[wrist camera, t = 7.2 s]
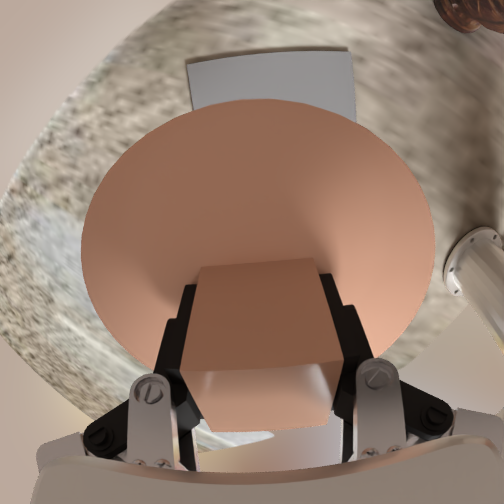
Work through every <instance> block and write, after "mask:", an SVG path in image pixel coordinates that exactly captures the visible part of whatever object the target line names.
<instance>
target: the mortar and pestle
mask: <svg viewBox="0 0 504 504" xmlns="http://www.w3.org/2000/svg"><path fill="white" fill-rule="evenodd" d="M434 3H435V6H436V9H437V10H438V12H439V14H440V16H441V17H442V18H443V20H444V21H445V22H447V23H448V24H449V25H450V26H451V27H453V28H454V29H456V30H457V31H459V32H462V33H472V32H474V31H476V30H477V29H479V28H480V27H481V25H483V26H484V27H485V28H487V29H490V30H493V31H496V32H499V33H503V34H504V0H434Z"/></svg>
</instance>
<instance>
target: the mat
mask: <svg viewBox="0 0 504 504" xmlns="http://www.w3.org/2000/svg"><path fill="white" fill-rule="evenodd" d="M187 70H188V77H189V83H190V90H191V96H192V102H193V108H194V110H197V109H200V108H202V107H205V106H208V105H211V104H217V103H222V102H227V101H233V100H239V99H266V98H272V99H280V100H287V101H294V102H301V103H305V104H309V105H312V106H315V107H318V108H322V109H325V110H328V111H331V112H334V113H337V114H339V115H341V116H343V117H345V118H347V119H349V120H351V121H353V122H355V123H356V104H355V89H354V77H353V66H352V57H351V52H342V51H292V52H274V53H262V54H252V55H243V56H235V57H228V58H221V59H215V60H209V61H203V62H198V63H193V64H188V65H187Z"/></svg>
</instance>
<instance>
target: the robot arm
mask: <svg viewBox="0 0 504 504" xmlns="http://www.w3.org/2000/svg"><path fill="white" fill-rule="evenodd" d="M319 277H320V280H321V283H322V287H323V290H324V293H325V296H326V299H327V303H328V306H329V309H330V313H331V316H332V319H333V323H334V326H335V329H336V333H337V336H338V340H339V343H340V347H341V351H342V354H343V358H344V362H343V366H342V370H341V374H340V378H339V382H338V386H337V390H336V393H335V397H334V401H333V404H332V408H331V410H334V414H335V415H336V416H338V417H340V418H341V437H340V438H341V439H340V459H339V464H335V465H329V466H322V467H316V468H308V469H298V470H289V471H277V472H258V473H257V472H256V473H215V472H200V466H199V459H198V451H197V443H196V434H195V426H197V425H198V424H199V423H200V419H204V417H203V415H202V414H201V412H200V410H199V408H198V406H197V404H196V402H195V400H194V399H193V397H192V395H191V393H190V391H189V389H188V387H187V385H186V383H185V381H184V379H183V377H182V375H181V373H180V366H181V361H182V355H183V350H184V345H185V340H186V335H187V330H188V325H189V321H190V316H191V311H192V306H193V302H194V297H195V293H196V288H197V284H188V285H185V287H184V290H183V294H182V298H181V302H180V305H179V309H178V313H177V317H176V318H169V319H168V321H167V323H166V327H165V330H164V334H163V337H162V341H161V345H160V348H159V352H158V356H157V360H156V364H155V368H154V372H153V374H152V373H150V374H146V375H143V376H141V377H139V378H138V379H137V380H136V381H134V383H133V384H132V386H131V389H130V394H129V399H128V400H126V401H125V402H123V403H122V404H120V405H119V406H117V407H116V408H114V409H113V410H111V411H110V412H108V413H106V414H105V415H103V416H102V417H100V418H99V419H97V420H95V421H94V422H92V423H91V424H90V425H89V426H87V428H86V430H85V431H84V433H82V434H81V433H80V432H77V433H74V434H71V435H68V436H65V437H63V438H60V439H57V440H53V441H50V442H48V443H44V444H43V445H41V446H40V447H39V449H38V451H37V454H36V459H37V464H38V469H39V473H40V474H39V476H38V479H37V481H36V484H35V487H34V491H33V494H32V498H31V503H30V504H504V407H503V409H501V410H500V411H499V412H498V413H497V414H496V415H491V414H486V413H481V412H475V411H470V410H466V409H461V408H457V409H456V410H453V409H451V407H450V406H449V405H448V404H447V403H446V402H444V401H443V400H440V399H439V398H436V397H434V396H432V395H430V394H428V393H426V392H424V391H422V390H420V389H417V388H415V387H413V386H411V385H409V384H407V383H405V382H403V381H401V380H399V375H398V371H397V369H396V367H395V366H394V365H393V364H392V363H391V362H389V361H387V360H385V359H382V358H374V356H373V353H372V350H371V348H370V345H369V342H368V339H367V337H366V334H365V331H364V329H363V326H362V323H361V321H360V318H359V316H358V313H357V310H356V308H355V306H354V305H353V304H350V305H343V303H342V300H341V298H340V295H339V292H338V289H337V287H336V284H335V281H334V279H333V276H332V274H331V273H325V274H319ZM444 284H445V286H446V288H447V289H448V291H449V292H450V293H451V294H452V295H455V296H464V297H465V298H466V299H467V301H468V302H469V303H470V305H471V306H472V308H473V309H474V310H475V312H476V313H477V315H478V316H479V318H480V319H481V321H482V322H483V324H484V325H485V327H486V328H487V330H488V331H489V333H490V334H491V336H492V337H493V339H494V341H495V342H496V344H497V345H498V347H499V349H500V350H501V352H502V354H503V355H504V251H503V250H502V243H501V239H500V236H499V235H498V233H497V232H496V231H494V230H493V229H492V228H490V227H479V228H477V229H474V230H473V231H471V232H469V233H468V234H467V235H465V236H464V237H463V238H462V239H461V240H460V241H459V242H458V244H457V245H456V246H455V247H454V249H453V251H452V252H451V254H450V256H449V258H448V260H447V262H446V266H445V269H444Z"/></svg>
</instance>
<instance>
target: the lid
mask: <svg viewBox="0 0 504 504" xmlns="http://www.w3.org/2000/svg"><path fill="white" fill-rule="evenodd" d="M434 257H435V235H434V225H433V221H432V217H431V213H430V208H429V205H428V203H427V200H426V198H425V196H424V193H423V191H422V189H421V186H420V185H419V183H418V181H417V180H416V178H415V177H414V175H413V174H412V172H411V171H410V169H409V168H408V166H407V165H406V164H405V163H404V161H403V160H402V159H401V158H400V157H399V156H398V155H397V154H396V153H395V152H394V151H393V149H392V148H391V147H390V146H389V145H387V144H386V143H385V142H383V141H382V140H381V139H380V138H378V137H377V136H376V135H374V134H373V133H372V132H370V131H369V130H368V129H366V128H364V127H363V126H361V125H359V124H357V123H355V122H353V121H351V120H349V119H347V118H345V117H343V116H341V115H339V114H337V113H334V112H331V111H328V110H325V109H322V108H318V107H315V106H312V105H309V104H305V103H301V102H294V101H287V100H280V99H272V98H266V99H239V100H233V101H227V102H222V103H217V104H211V105H208V106H205V107H202V108H200V109H197V110H194V111H191V112H188V113H186V114H183V115H181V116H178V117H176V118H174V119H172V120H170V121H168V122H167V123H165V124H163V125H161V126H160V127H158V128H156V129H154V130H153V131H151V132H149V133H148V134H146V135H145V136H144V137H143V138H141V139H140V140H139V141H138V142H136V143H135V144H134V145H133V146H132V147H130V148H129V149H128V150H127V151H126V152H125V153H124V154H123V155H122V156H121V157H120V158H119V159H118V161H117V162H116V163H115V164H114V165H113V166H112V168H111V169H110V170H109V171H108V172H107V174H106V175H105V177H104V179H103V180H102V182H101V184H100V185H99V187H98V189H97V190H96V192H95V194H94V196H93V199H92V201H91V204H90V206H89V209H88V212H87V214H86V218H85V222H84V227H83V233H82V240H81V262H82V270H83V277H84V281H85V284H86V288H87V291H88V295H89V297H90V299H91V301H92V304H93V306H94V308H95V310H96V312H97V314H98V316H99V317H100V319H101V321H102V322H103V324H104V325H105V327H106V328H107V329H108V331H109V332H110V333H111V334H112V336H113V337H114V338H115V339H116V340H117V341H118V342H119V343H120V344H121V345H122V346H123V347H124V348H125V349H126V350H127V351H128V352H129V353H130V354H131V355H132V356H134V357H135V358H136V359H137V360H139V361H140V362H141V363H143V364H144V365H146V366H147V367H149V368H150V369H152V370H153V371H154V368H155V364H156V360H157V356H158V352H159V348H160V345H161V341H162V337H163V334H164V330H165V327H166V323H167V321H168V319H169V318H176V317H177V313H178V309H179V305H180V302H181V298H182V294H183V290H184V287H185V285H188V284H197V288H196V293H195V297H194V302H193V306H192V311H191V316H190V321H189V325H188V330H187V335H186V340H185V345H184V350H183V355H182V361H181V366H180V373H181V375H182V377H183V379H184V381H185V383H186V385H187V387H188V389H189V391H190V393H191V395H192V397H193V399H194V400H195V402H196V404H197V406H198V408H199V410H200V412H201V414H202V415H203V417H204V419H205V421H206V423H207V424H208V426H209V428H210V430H211V431H212V432H252V431H270V430H283V429H294V428H304V427H312V426H319V425H326V424H327V421H328V418H329V415H330V411H331V408H332V404H333V401H334V397H335V393H336V390H337V386H338V382H339V378H340V374H341V370H342V366H343V362H344V358H343V354H342V351H341V347H340V343H339V340H338V336H337V333H336V329H335V326H334V323H333V319H332V316H331V313H330V309H329V306H328V303H327V299H326V296H325V293H324V290H323V287H322V283H321V280H320V277H319V274H325V273H331V274H332V276H333V279H334V281H335V284H336V287H337V289H338V292H339V295H340V298H341V300H342V303H343V305H350V304H353V305H354V306H355V308H356V310H357V313H358V316H359V318H360V321H361V323H362V326H363V329H364V331H365V334H366V337H367V339H368V342H369V345H370V348H371V350H372V353H373V356H374V358H377V357H378V356H380V355H381V354H382V353H383V352H384V351H385V350H386V349H388V348H389V347H390V346H391V345H392V344H393V343H394V342H395V341H396V340H397V339H398V337H399V336H400V335H401V334H402V333H403V332H404V331H405V329H406V328H407V326H408V325H409V324H410V322H411V321H412V319H413V318H414V317H415V315H416V313H417V311H418V309H419V307H420V306H421V304H422V302H423V300H424V297H425V295H426V292H427V289H428V287H429V284H430V280H431V276H432V271H433V267H434Z"/></svg>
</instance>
